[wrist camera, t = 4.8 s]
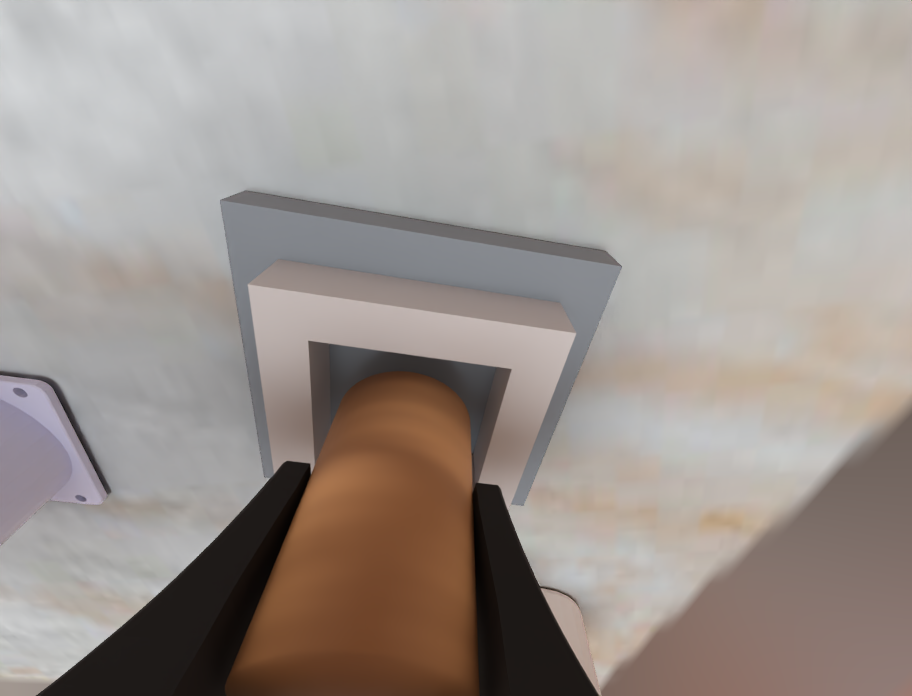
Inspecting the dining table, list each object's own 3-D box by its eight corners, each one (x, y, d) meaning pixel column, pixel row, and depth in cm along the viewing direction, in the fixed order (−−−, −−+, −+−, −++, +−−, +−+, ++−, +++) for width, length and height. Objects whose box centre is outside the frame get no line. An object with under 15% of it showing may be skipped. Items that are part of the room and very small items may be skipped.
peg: (340, 464, 14) (249, 735, 8) (334, 364, 11) (196, 642, 5) (461, 474, 14) (463, 745, 8) (479, 378, 12) (500, 659, 6)
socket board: (278, 451, 18) (242, 517, 15) (245, 190, 12) (175, 217, 9) (519, 479, 19) (529, 546, 16) (606, 251, 13) (649, 292, 10)
